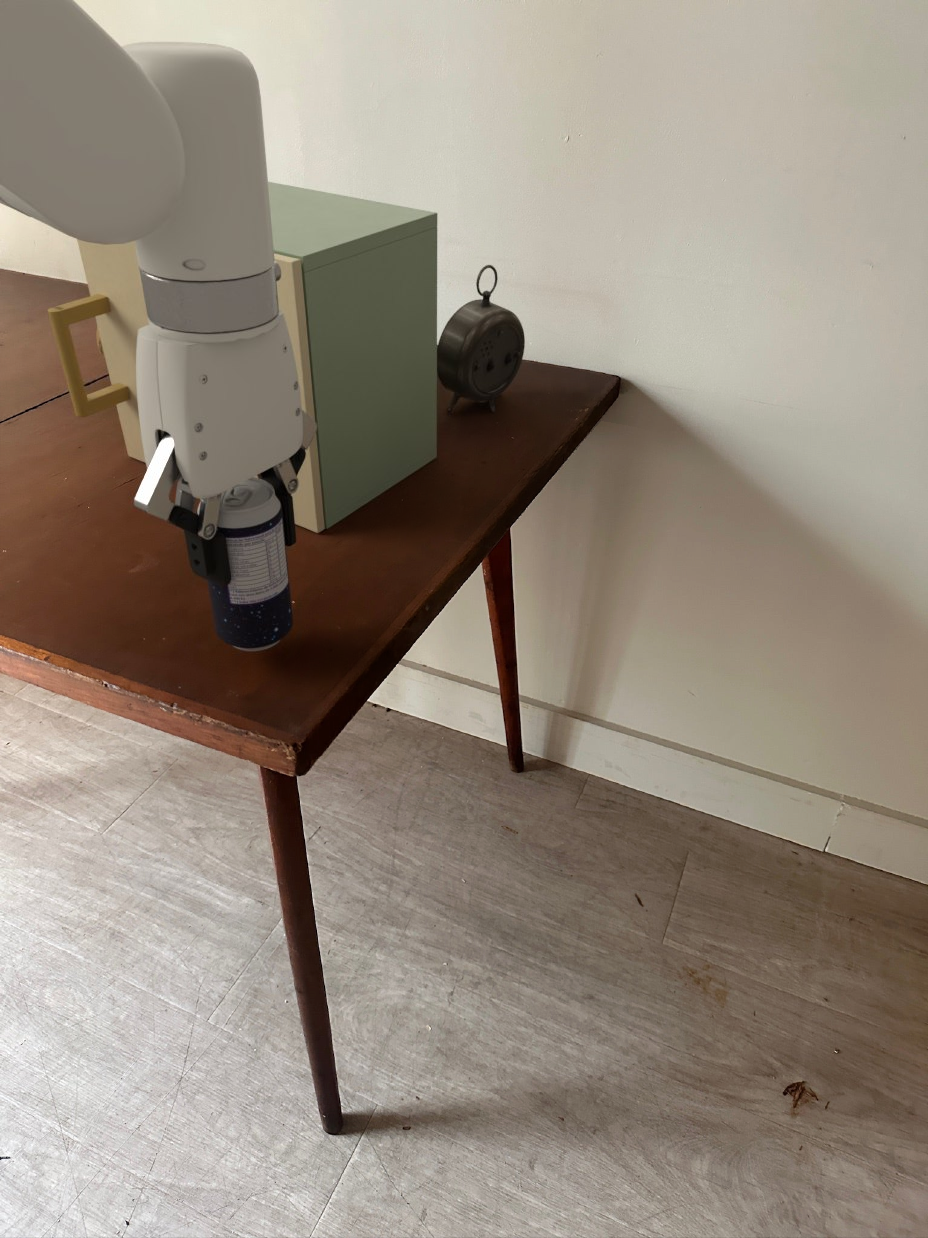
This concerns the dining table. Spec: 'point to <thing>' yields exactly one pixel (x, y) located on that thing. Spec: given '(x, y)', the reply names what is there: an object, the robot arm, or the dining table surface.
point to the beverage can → (252, 569)
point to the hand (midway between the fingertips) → (245, 556)
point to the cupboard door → (118, 324)
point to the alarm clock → (480, 349)
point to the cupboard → (365, 336)
